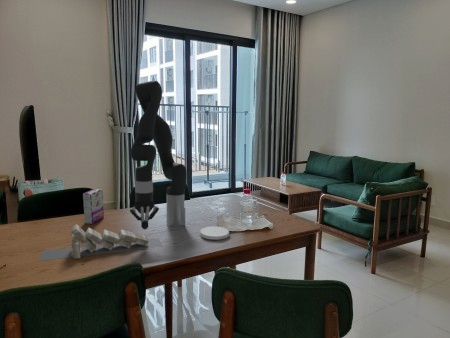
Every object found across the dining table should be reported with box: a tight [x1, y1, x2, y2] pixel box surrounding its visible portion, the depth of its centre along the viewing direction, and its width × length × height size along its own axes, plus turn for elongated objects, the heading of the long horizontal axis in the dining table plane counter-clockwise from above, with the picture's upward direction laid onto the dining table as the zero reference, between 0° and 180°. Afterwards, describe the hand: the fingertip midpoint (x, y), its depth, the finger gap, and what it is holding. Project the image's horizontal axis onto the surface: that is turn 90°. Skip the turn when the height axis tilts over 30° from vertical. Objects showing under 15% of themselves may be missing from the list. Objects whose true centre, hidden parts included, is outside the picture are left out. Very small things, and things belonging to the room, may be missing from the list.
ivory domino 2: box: [84, 227, 114, 250], centre depth 142 cm, size 2×6×12 cm
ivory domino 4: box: [118, 229, 149, 246], centre depth 147 cm, size 2×6×12 cm
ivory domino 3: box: [101, 228, 132, 248], centre depth 145 cm, size 2×6×12 cm
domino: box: [71, 233, 81, 260], centre depth 138 cm, size 2×6×12 cm
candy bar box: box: [82, 188, 105, 225], centre depth 180 cm, size 11×5×16 cm, turn 168°
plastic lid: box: [199, 225, 230, 241], centre depth 164 cm, size 14×14×2 cm
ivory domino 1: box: [70, 223, 97, 252], centre depth 140 cm, size 2×6×12 cm
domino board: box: [39, 237, 164, 262], centre depth 144 cm, size 48×10×1 cm, turn 111°
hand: (144, 228), depth 149 cm, fingers closed
